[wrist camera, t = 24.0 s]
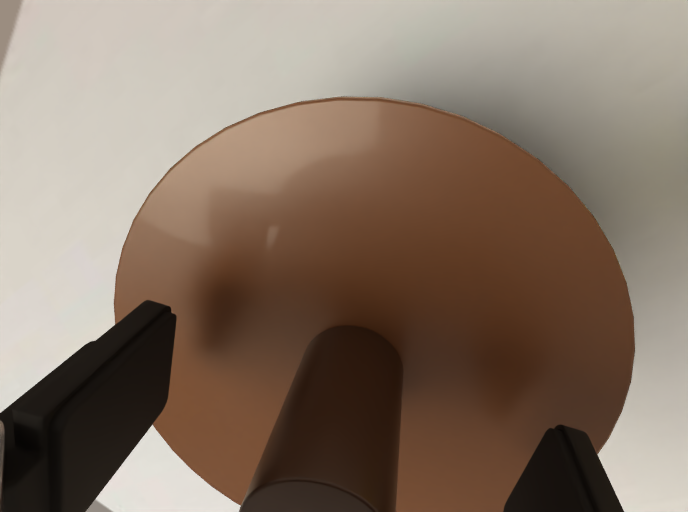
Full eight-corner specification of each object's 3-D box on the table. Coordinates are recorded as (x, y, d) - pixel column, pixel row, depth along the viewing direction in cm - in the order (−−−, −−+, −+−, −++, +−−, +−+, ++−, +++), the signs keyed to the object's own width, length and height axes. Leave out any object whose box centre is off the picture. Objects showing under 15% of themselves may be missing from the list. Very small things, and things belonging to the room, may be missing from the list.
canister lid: (642, 494, 14) (796, 782, 8) (239, 531, 18) (152, 750, 12) (574, 3, 10) (802, -102, 4) (55, 186, 13) (-222, 269, 7)
